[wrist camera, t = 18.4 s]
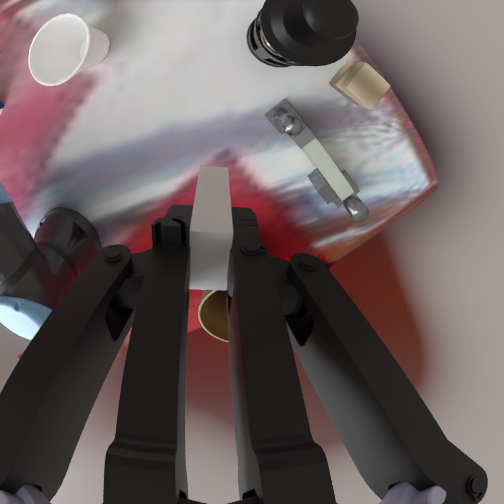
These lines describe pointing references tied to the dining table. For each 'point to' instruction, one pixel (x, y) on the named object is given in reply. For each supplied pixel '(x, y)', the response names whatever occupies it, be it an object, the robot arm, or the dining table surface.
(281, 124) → the post
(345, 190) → the gate
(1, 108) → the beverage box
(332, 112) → the dining table surface
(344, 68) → the block
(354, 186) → the metal knob post
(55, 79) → the cup
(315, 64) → the french press
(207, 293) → the plant pot
